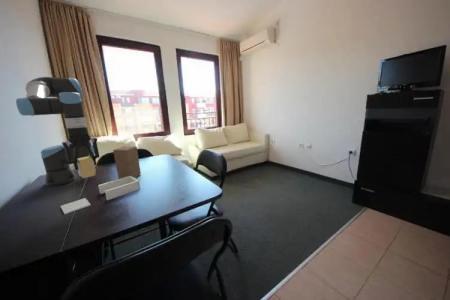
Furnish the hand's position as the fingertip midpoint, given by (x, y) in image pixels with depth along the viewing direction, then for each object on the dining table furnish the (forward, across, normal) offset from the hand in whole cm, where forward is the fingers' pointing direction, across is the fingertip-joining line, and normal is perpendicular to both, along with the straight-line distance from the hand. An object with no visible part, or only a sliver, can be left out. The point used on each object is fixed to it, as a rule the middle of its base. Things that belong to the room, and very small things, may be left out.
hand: (87, 173), depth 93 cm
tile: (+15, -8, 0) cm, 16 cm away
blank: (+1, 0, 0) cm, 1 cm away
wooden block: (+15, +26, +17) cm, 35 cm away
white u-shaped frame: (+15, +13, 0) cm, 20 cm away
